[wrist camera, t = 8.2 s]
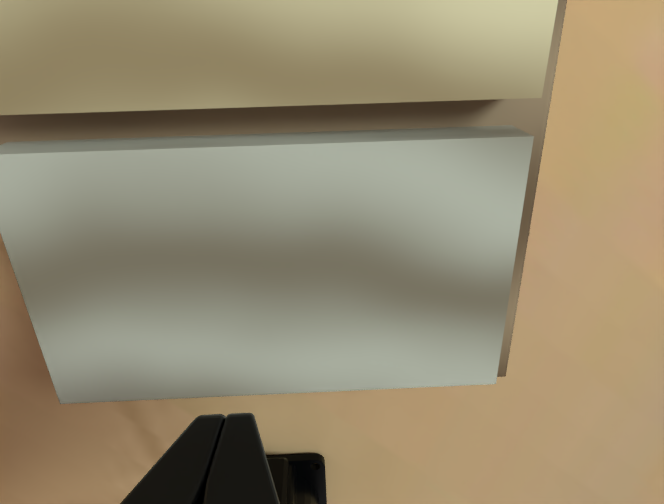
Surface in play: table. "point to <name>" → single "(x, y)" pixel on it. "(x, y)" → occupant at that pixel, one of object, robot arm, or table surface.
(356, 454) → the table surface
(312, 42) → the pale yellow square slab
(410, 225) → the floor base
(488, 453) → the table surface
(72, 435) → the table surface
